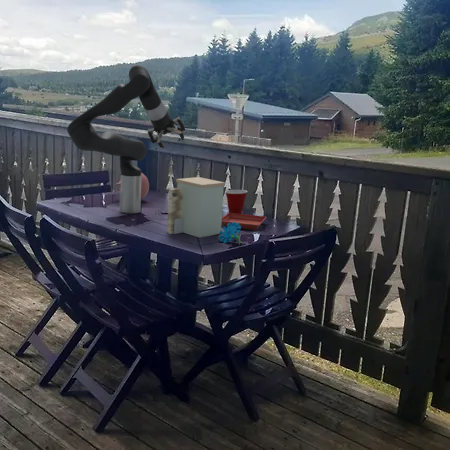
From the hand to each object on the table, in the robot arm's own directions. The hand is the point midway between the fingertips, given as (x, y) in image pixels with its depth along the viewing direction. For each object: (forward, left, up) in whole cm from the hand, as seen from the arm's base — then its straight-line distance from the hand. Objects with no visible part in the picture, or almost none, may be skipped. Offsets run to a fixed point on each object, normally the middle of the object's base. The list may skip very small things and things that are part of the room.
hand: (172, 142), depth 215 cm
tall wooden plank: (+3, -7, -35) cm, 36 cm away
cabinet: (+11, -5, -35) cm, 37 cm away
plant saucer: (+31, +13, -36) cm, 50 cm away
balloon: (-25, +52, -36) cm, 68 cm away
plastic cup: (+28, +32, -36) cm, 56 cm away
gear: (+25, -17, -36) cm, 47 cm away
